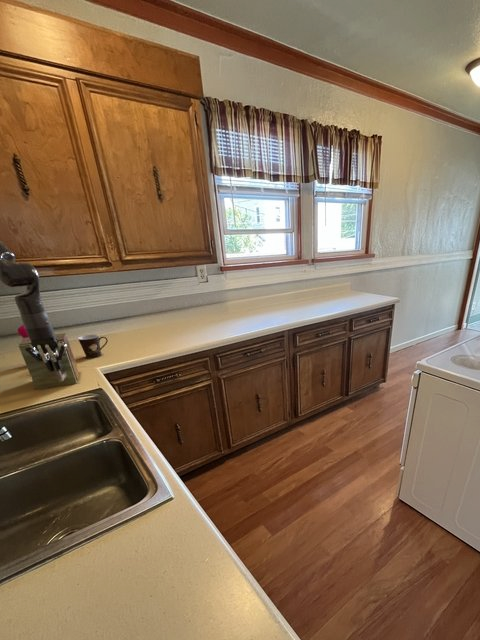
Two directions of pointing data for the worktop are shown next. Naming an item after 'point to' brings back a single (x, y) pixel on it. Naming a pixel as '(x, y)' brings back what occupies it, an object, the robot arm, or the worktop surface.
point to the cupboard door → (43, 375)
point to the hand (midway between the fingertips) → (55, 370)
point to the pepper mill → (22, 331)
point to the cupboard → (64, 338)
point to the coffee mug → (91, 345)
